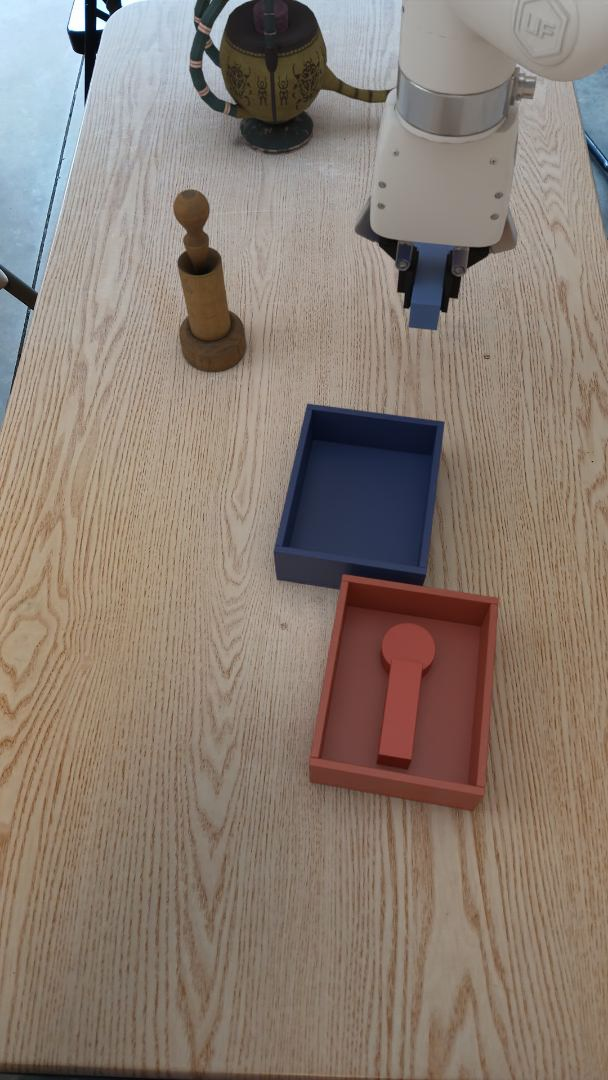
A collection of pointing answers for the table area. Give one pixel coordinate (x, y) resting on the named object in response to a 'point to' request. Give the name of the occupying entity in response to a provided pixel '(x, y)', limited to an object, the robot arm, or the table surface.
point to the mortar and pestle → (205, 293)
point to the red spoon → (402, 690)
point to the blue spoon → (428, 285)
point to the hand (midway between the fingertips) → (427, 297)
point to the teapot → (268, 70)
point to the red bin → (444, 700)
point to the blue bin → (359, 498)
